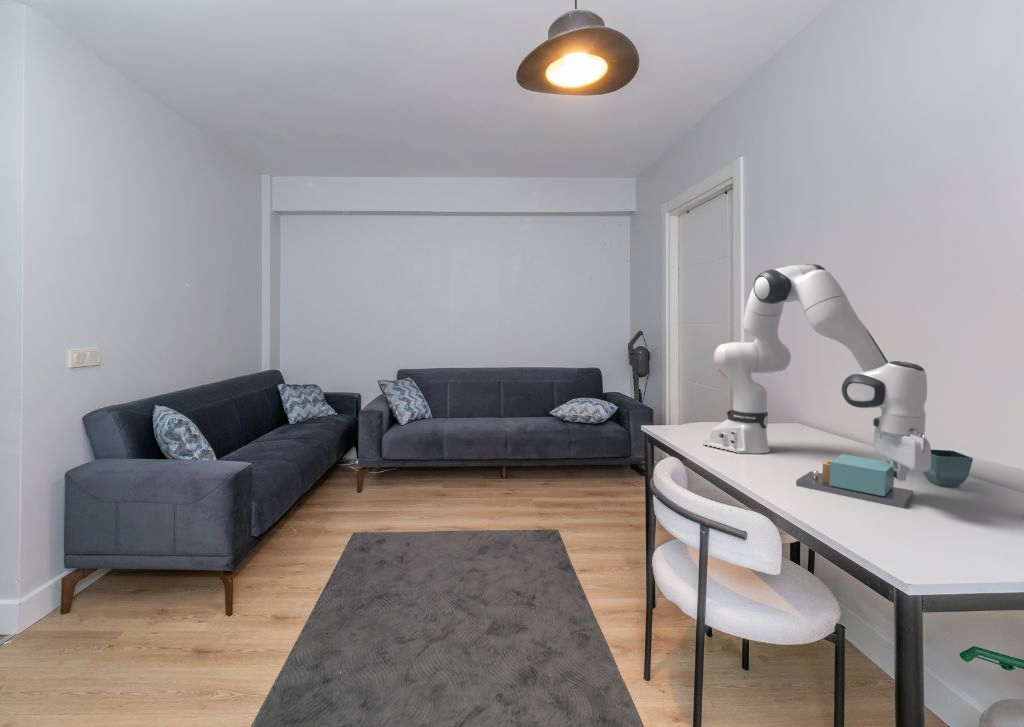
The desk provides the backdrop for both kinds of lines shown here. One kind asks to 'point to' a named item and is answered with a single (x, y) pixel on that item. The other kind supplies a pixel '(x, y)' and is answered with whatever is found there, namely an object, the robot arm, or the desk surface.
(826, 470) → the hollow square tube
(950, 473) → the flower pot
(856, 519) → the desk surface
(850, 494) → the housing base
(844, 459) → the cover
